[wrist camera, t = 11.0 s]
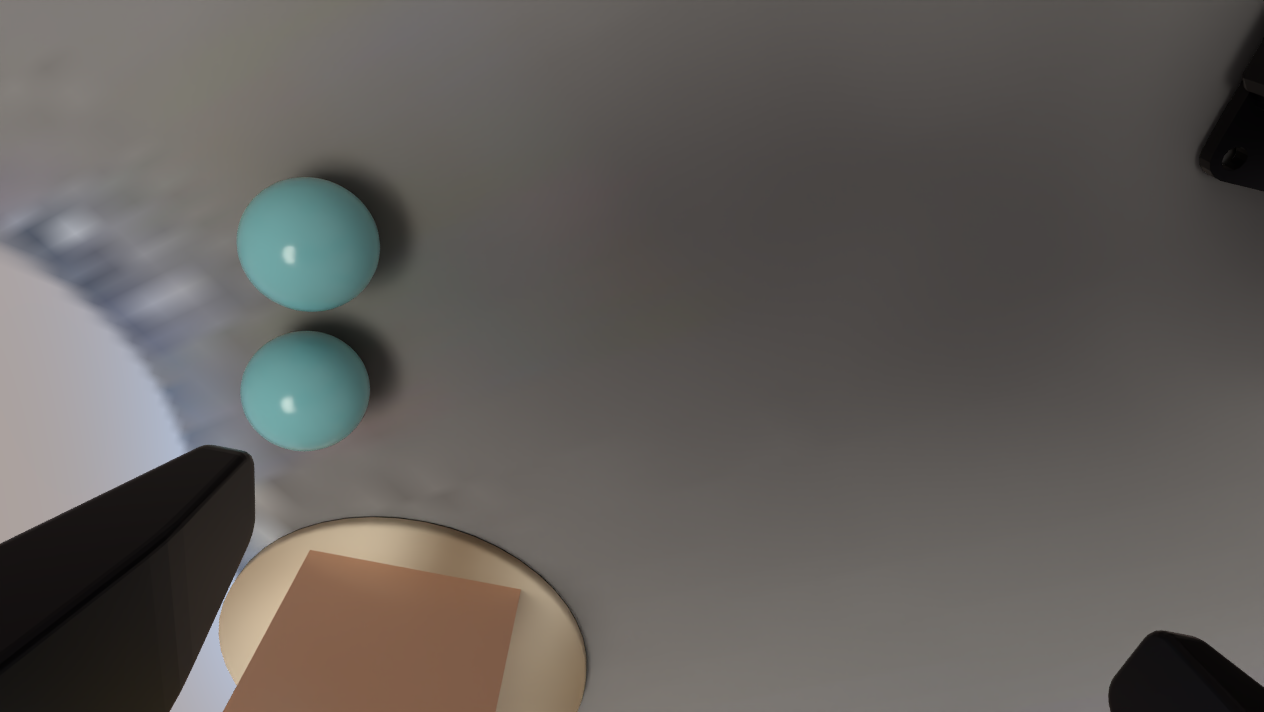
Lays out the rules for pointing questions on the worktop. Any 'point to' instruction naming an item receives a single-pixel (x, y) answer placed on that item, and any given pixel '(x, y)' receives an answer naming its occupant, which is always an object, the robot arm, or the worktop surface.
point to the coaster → (543, 628)
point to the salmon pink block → (380, 642)
